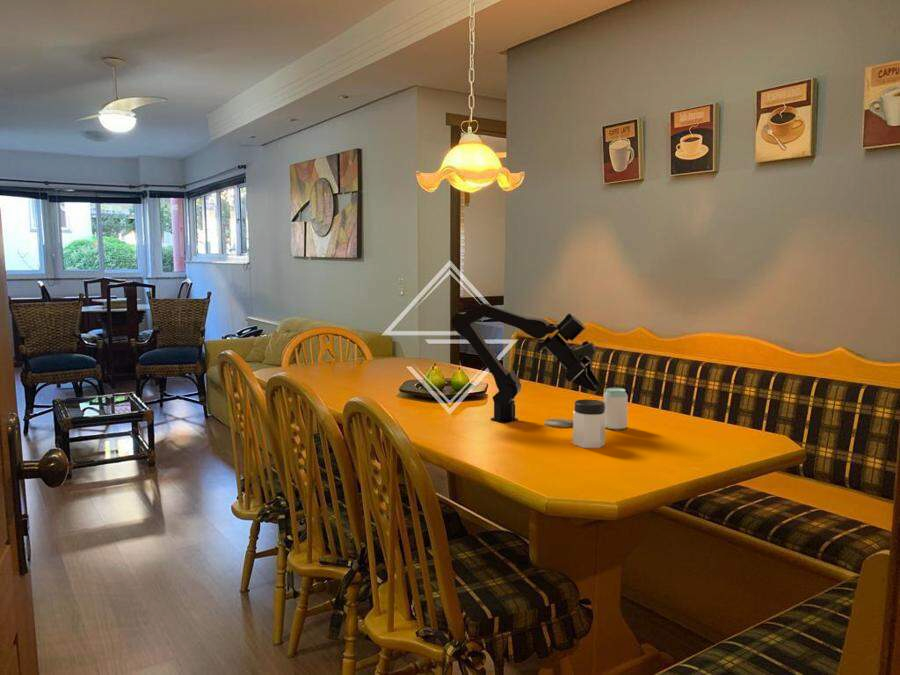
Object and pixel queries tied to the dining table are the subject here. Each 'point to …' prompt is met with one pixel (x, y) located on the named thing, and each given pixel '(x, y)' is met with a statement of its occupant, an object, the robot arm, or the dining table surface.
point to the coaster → (559, 422)
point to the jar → (589, 423)
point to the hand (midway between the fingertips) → (597, 387)
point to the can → (616, 408)
